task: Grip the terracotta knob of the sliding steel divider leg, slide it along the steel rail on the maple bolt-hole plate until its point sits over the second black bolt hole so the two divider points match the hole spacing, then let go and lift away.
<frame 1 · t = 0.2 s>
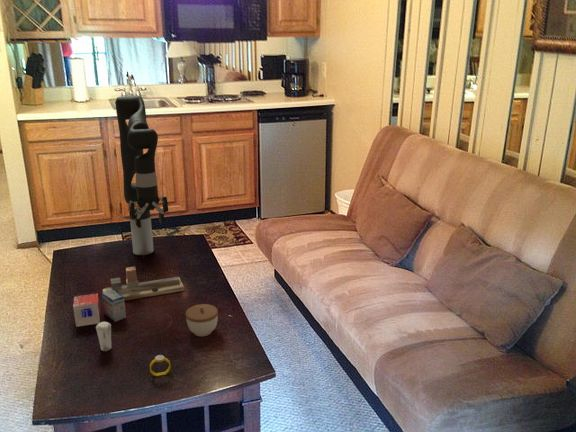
hand: (150, 225, 196), 28 cm above the table, tool pointing down, fingers open, 8 cm apart
bolt-hole plate: (143, 291, 205), on the table
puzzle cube: (88, 320, 185), on the table
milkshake: (107, 349, 167), on the table
medicine box: (115, 316, 187), on the table
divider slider: (131, 278, 202), point 6 cm above the table, slide at 0.0 cm
gold diamond ring: (160, 375, 154), on the table
lidded jar: (202, 332, 177), on the table
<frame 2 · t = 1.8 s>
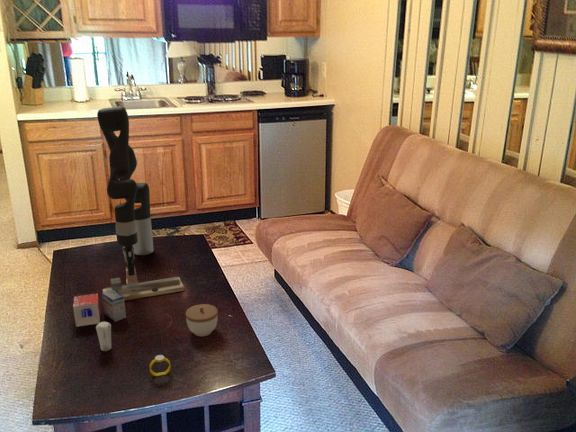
hand: (130, 270, 200), 10 cm above the table, tool pointing down, fingers open, 8 cm apart
nothing on the table moved.
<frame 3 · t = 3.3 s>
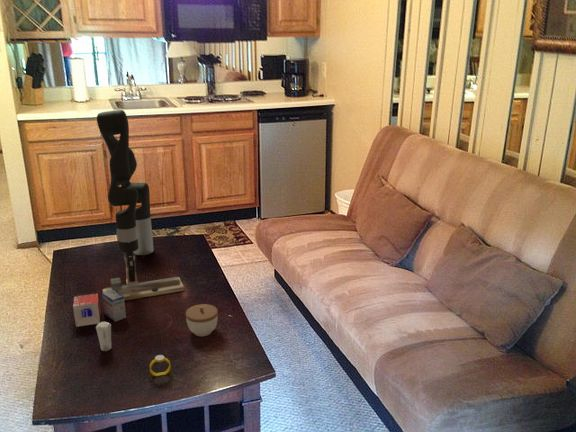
hand: (131, 278, 202), 6 cm above the table, tool pointing down, fingers closed on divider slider, 3 cm apart
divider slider: (131, 278, 202), point 6 cm above the table, slide at 0.0 cm, touching gripper
everything else where it was.
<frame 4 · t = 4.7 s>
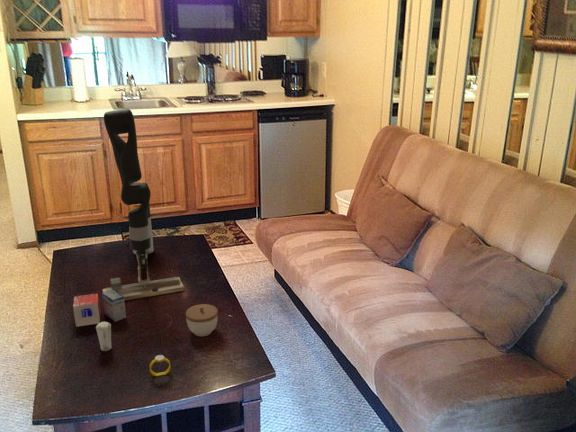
hand: (143, 277, 203), 6 cm above the table, tool pointing down, fingers closed on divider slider, 3 cm apart
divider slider: (143, 277, 203), point 6 cm above the table, slide at 4.5 cm, touching gripper
everything else where it was.
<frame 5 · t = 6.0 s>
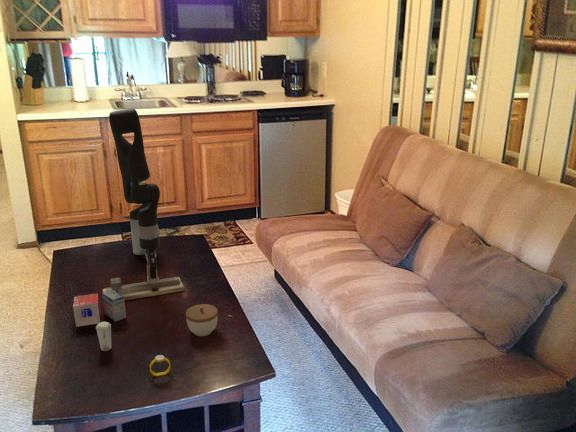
hand: (152, 275, 204), 6 cm above the table, tool pointing down, fingers closed on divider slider, 3 cm apart
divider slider: (152, 275, 204), point 6 cm above the table, slide at 7.9 cm, touching gripper
everything else where it was.
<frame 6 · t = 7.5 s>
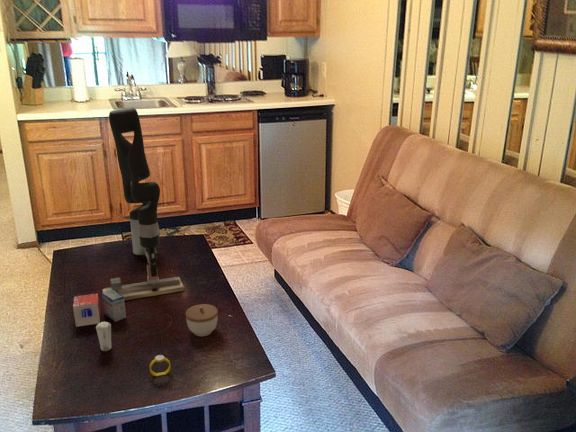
hand: (152, 271, 204), 8 cm above the table, tool pointing down, fingers open, 8 cm apart
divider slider: (152, 275, 204), point 6 cm above the table, slide at 7.9 cm
everything else where it was.
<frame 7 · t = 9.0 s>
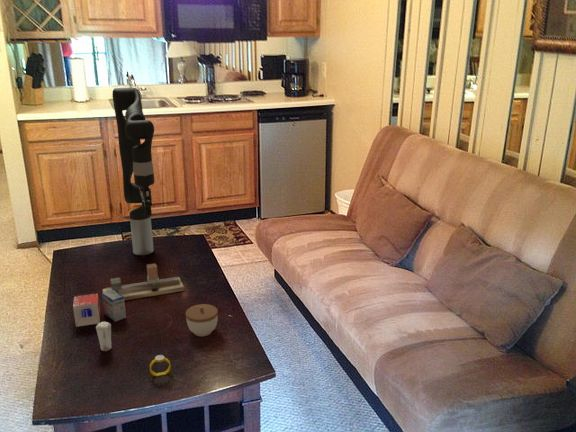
hand: (147, 211, 206), 30 cm above the table, tool pointing down, fingers open, 8 cm apart
nothing on the table moved.
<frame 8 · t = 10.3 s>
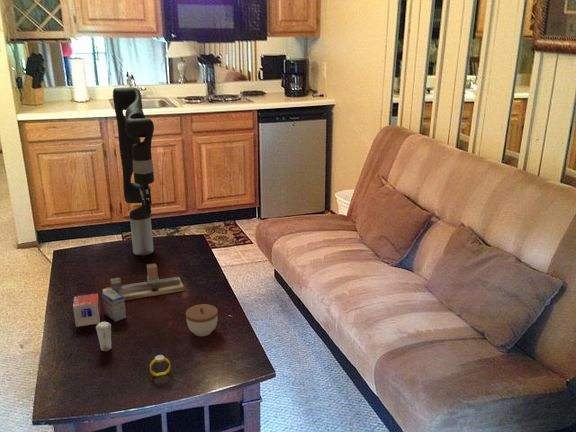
hand: (146, 210, 206), 30 cm above the table, tool pointing down, fingers open, 8 cm apart
nothing on the table moved.
at the end: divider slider slide at 7.9 cm; the gripper is holding nothing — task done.
